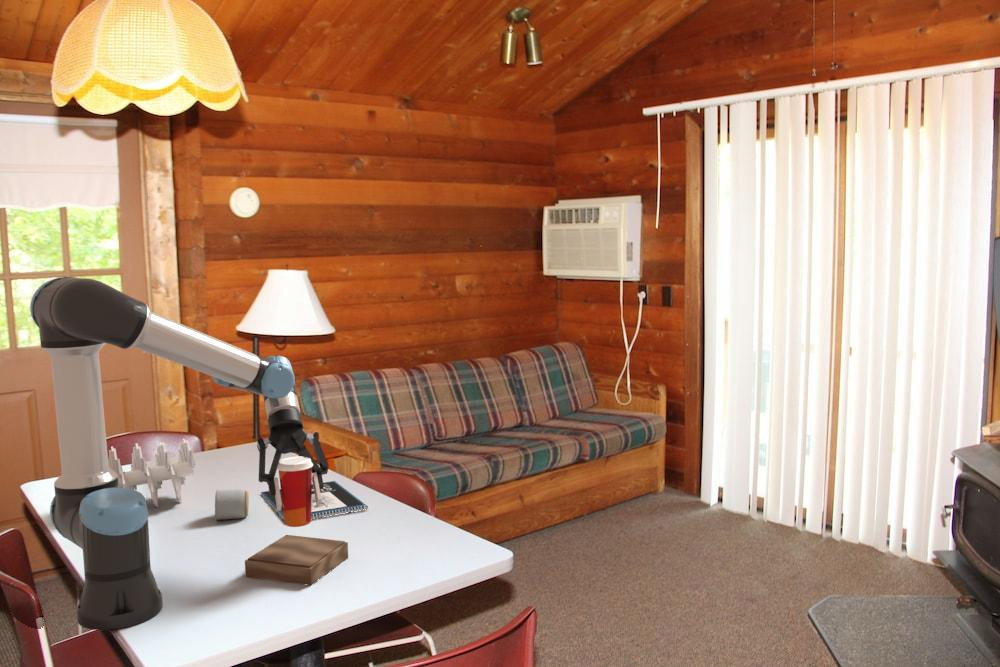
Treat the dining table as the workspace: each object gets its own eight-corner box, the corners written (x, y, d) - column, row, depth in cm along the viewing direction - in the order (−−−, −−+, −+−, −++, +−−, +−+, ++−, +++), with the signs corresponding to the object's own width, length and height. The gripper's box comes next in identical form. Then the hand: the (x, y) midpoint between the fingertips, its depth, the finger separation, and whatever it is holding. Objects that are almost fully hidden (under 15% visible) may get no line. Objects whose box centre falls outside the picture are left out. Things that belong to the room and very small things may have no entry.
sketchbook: (334, 485, 250) (334, 478, 250) (369, 513, 224) (369, 505, 224) (261, 496, 240) (260, 488, 240) (288, 526, 214) (288, 518, 214)
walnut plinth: (311, 585, 176) (310, 567, 176) (245, 576, 181) (244, 558, 181) (348, 557, 191) (347, 540, 191) (286, 550, 196) (285, 533, 196)
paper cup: (301, 514, 191) (298, 453, 189) (323, 521, 186) (320, 459, 184) (272, 524, 185) (268, 461, 183) (294, 531, 180) (290, 467, 178)
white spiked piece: (97, 523, 229) (194, 504, 240) (97, 513, 214) (200, 493, 225) (89, 458, 234) (184, 442, 245) (87, 443, 219) (189, 427, 230)
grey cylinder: (248, 521, 217) (247, 491, 217) (215, 524, 215) (213, 494, 215) (249, 509, 228) (248, 481, 227) (217, 512, 226) (216, 483, 225)
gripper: (326, 420, 201) (344, 506, 188) (236, 430, 193) (249, 520, 180) (330, 402, 196) (349, 489, 183) (238, 411, 188) (250, 503, 175)
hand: (299, 504), depth 182 cm, fingers closed on paper cup, 8 cm apart
